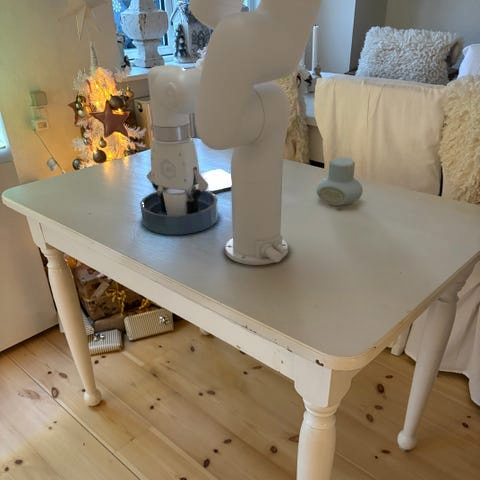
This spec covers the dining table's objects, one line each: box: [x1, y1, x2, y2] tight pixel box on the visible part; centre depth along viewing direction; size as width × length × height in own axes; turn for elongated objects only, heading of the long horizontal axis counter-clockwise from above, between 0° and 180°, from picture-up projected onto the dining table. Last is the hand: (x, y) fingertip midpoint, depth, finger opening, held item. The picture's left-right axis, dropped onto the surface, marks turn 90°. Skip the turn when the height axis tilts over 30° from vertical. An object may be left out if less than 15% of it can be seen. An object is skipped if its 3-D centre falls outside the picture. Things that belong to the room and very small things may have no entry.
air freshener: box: [316, 157, 364, 208], centre depth 117 cm, size 11×8×10 cm
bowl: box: [139, 191, 219, 235], centre depth 112 cm, size 17×17×4 cm
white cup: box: [162, 187, 193, 215], centre depth 111 cm, size 7×7×7 cm
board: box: [196, 168, 231, 195], centre depth 131 cm, size 14×20×1 cm
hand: (179, 212), depth 112 cm, fingers closed on white cup, 6 cm apart
